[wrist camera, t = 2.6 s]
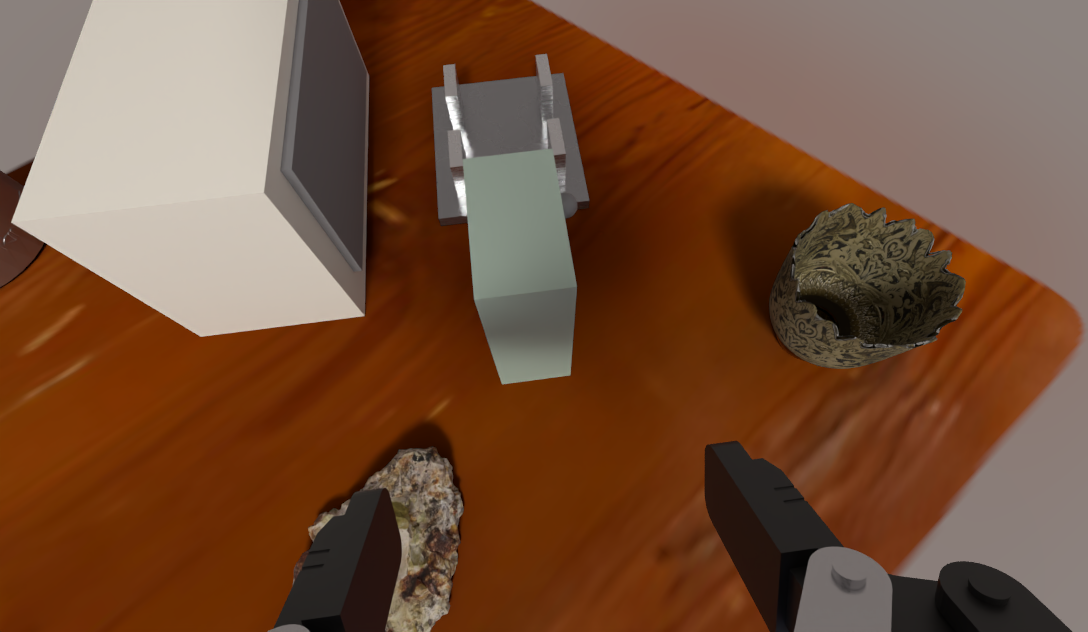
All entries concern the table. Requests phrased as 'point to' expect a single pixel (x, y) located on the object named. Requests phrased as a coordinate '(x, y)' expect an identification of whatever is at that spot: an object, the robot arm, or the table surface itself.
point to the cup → (862, 290)
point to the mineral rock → (416, 535)
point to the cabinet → (212, 160)
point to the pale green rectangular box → (522, 262)
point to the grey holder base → (502, 131)
